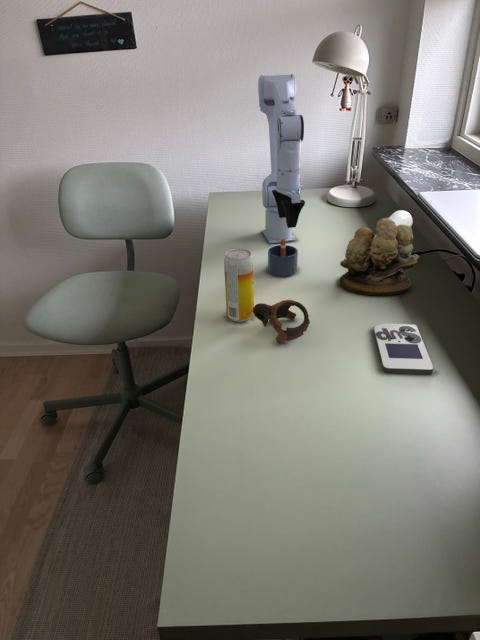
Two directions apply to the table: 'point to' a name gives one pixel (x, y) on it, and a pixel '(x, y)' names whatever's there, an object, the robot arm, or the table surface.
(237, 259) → the beer can
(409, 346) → the handheld game console
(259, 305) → the brown knobby curled ring
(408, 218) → the white rounded cylinder
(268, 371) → the table surface
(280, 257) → the cup
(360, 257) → the owl figurine
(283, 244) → the baton
